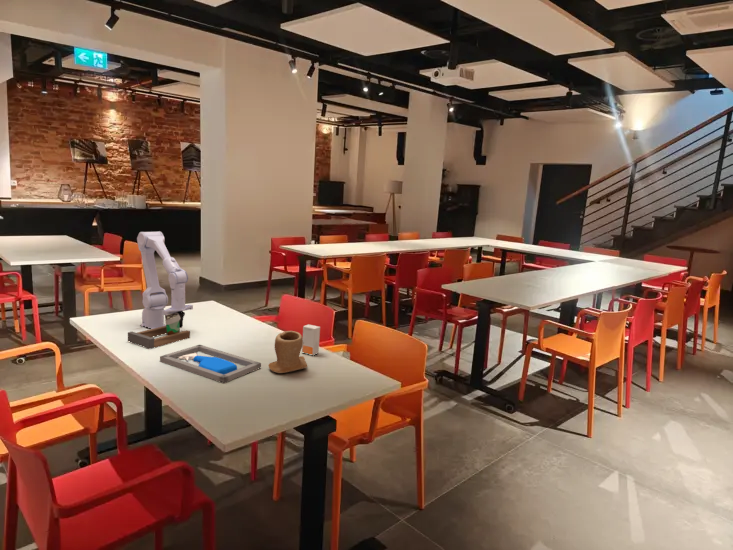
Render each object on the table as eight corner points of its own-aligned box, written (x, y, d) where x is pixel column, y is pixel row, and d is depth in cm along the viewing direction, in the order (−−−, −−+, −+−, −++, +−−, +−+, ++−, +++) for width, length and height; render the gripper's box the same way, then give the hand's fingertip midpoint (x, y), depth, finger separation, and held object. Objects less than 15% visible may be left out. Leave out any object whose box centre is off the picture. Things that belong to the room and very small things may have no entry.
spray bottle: (240, 363, 181) (199, 348, 195) (215, 371, 172) (174, 355, 186) (239, 371, 181) (199, 355, 195) (215, 379, 172) (174, 362, 186)
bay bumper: (127, 341, 203) (127, 332, 202) (132, 340, 205) (132, 331, 204) (149, 348, 196) (149, 339, 196) (154, 347, 198) (154, 338, 198)
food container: (183, 339, 209) (180, 317, 206) (168, 342, 206) (165, 320, 204) (182, 330, 220) (179, 309, 217) (167, 333, 217) (164, 311, 215)
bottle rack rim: (160, 361, 184) (160, 356, 184) (199, 349, 200) (199, 344, 200) (223, 383, 168) (223, 377, 168) (260, 368, 185) (261, 363, 184)
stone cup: (278, 378, 176) (280, 338, 173) (264, 368, 185) (266, 330, 183) (315, 372, 185) (317, 334, 182) (299, 362, 194) (301, 325, 192)
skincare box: (301, 353, 204) (302, 326, 202) (307, 351, 208) (308, 323, 206) (313, 356, 202) (314, 328, 199) (318, 354, 205) (320, 326, 203)
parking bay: (132, 340, 205) (132, 333, 204) (168, 331, 220) (168, 325, 220) (154, 347, 198) (154, 340, 198) (189, 337, 214) (189, 331, 213)
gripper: (170, 302, 206) (171, 333, 208) (197, 296, 218) (197, 325, 221) (159, 299, 209) (159, 330, 212) (186, 294, 222) (186, 323, 224)
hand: (178, 327), depth 216 cm, fingers closed, pressing on food container
